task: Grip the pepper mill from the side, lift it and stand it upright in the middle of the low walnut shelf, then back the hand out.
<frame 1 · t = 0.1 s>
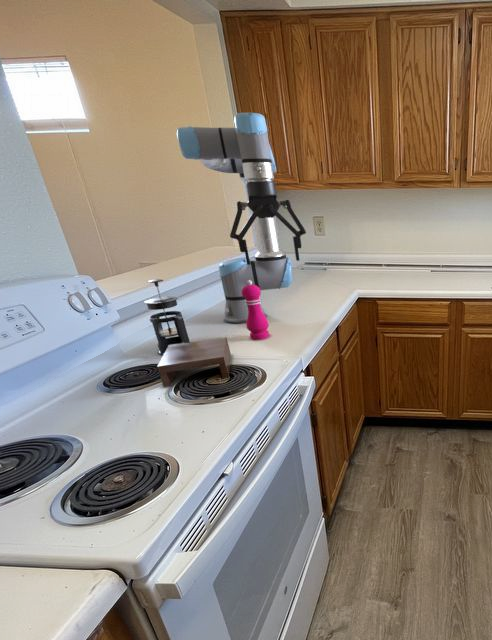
hand: (273, 262, 120), 28 cm above the countertop, tool pointing down, fingers open, 13 cm apart
shelf: (200, 370, 120), on the countertop
pepper mill: (260, 337, 146), on the countertop
french press: (176, 350, 136), on the countertop
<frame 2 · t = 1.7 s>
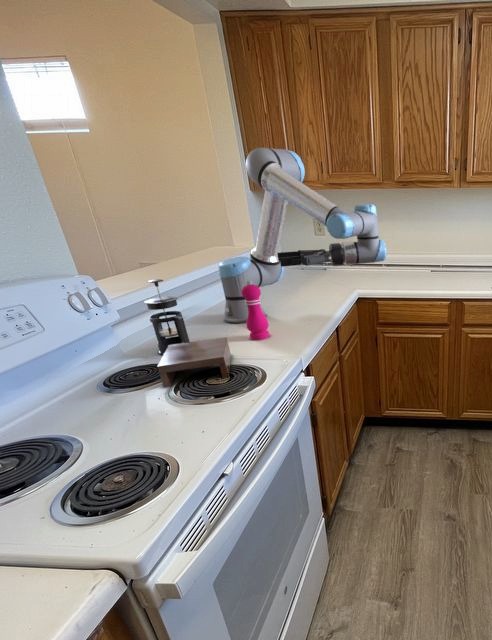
hand: (278, 259, 139), 26 cm above the countertop, tool horizontal, fingers open, 13 cm apart
nothing on the countertop moved.
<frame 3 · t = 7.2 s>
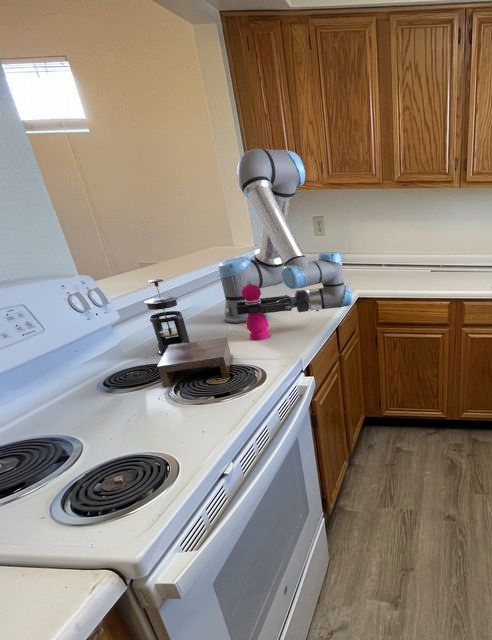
hand: (237, 308, 140), 11 cm above the countertop, tool horizontal, fingers closed on pepper mill, 5 cm apart
pepper mill: (260, 337, 146), on the countertop, touching gripper
everything else where it was.
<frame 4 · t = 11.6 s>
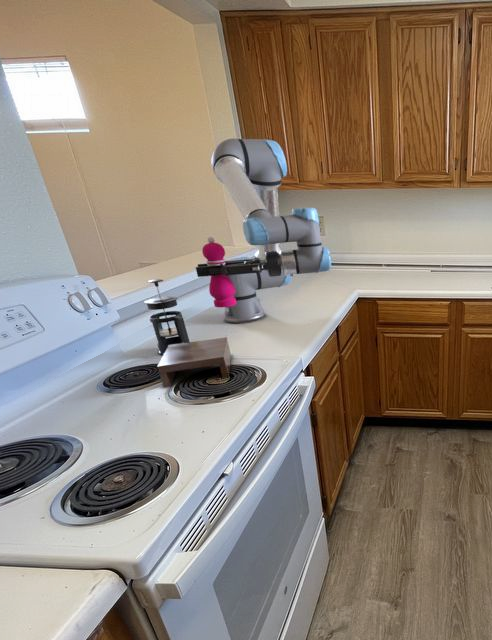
hand: (198, 270, 122), 26 cm above the countertop, tool horizontal, fingers closed on pepper mill, 5 cm apart
pepper mill: (225, 305, 128), point 15 cm above the countertop, touching gripper
everything else where it was.
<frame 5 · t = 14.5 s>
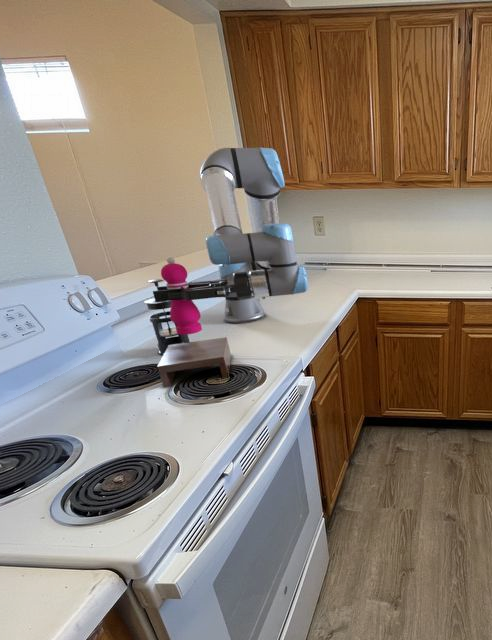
hand: (156, 294, 109), 23 cm above the countertop, tool horizontal, fingers closed on pepper mill, 5 cm apart
pepper mill: (190, 332, 115), point 12 cm above the countertop, touching gripper
everything else where it was.
when the fingers open (17 cm above the countertop, at t = 16.4 s): pepper mill stays where it is, resting on shelf.
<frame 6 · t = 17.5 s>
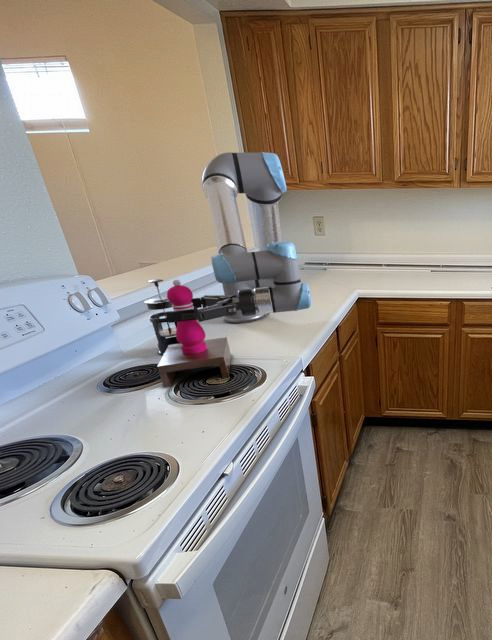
hand: (171, 311, 112), 18 cm above the countertop, tool horizontal, fingers open, 13 cm apart
pepper mill: (195, 351, 118), point 6 cm above the countertop, touching shelf
everything else where it was.
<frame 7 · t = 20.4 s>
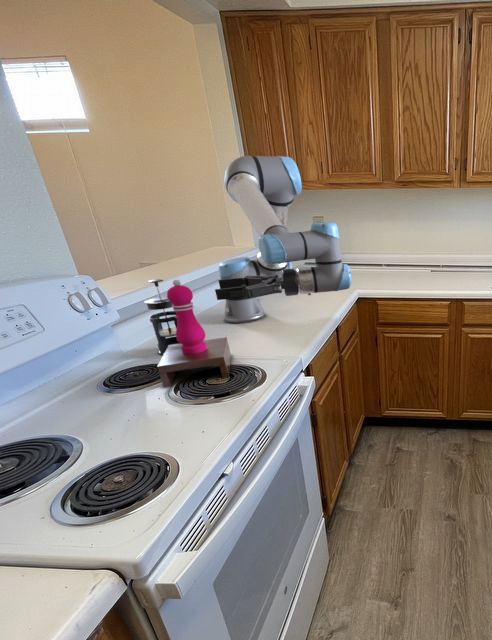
hand: (217, 289, 114), 22 cm above the countertop, tool horizontal, fingers open, 13 cm apart
nothing on the countertop moved.
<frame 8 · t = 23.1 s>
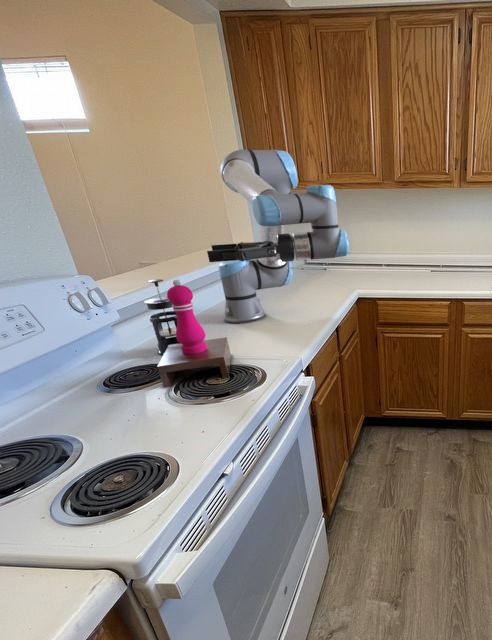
hand: (210, 253, 110), 32 cm above the countertop, tool horizontal, fingers open, 13 cm apart
nothing on the countertop moved.
at the end: pepper mill inside the target area on the shelf (0.0 cm from its centre), point 5.8 cm above the shelf's base; pepper mill tilted 0°; the gripper is holding nothing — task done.
